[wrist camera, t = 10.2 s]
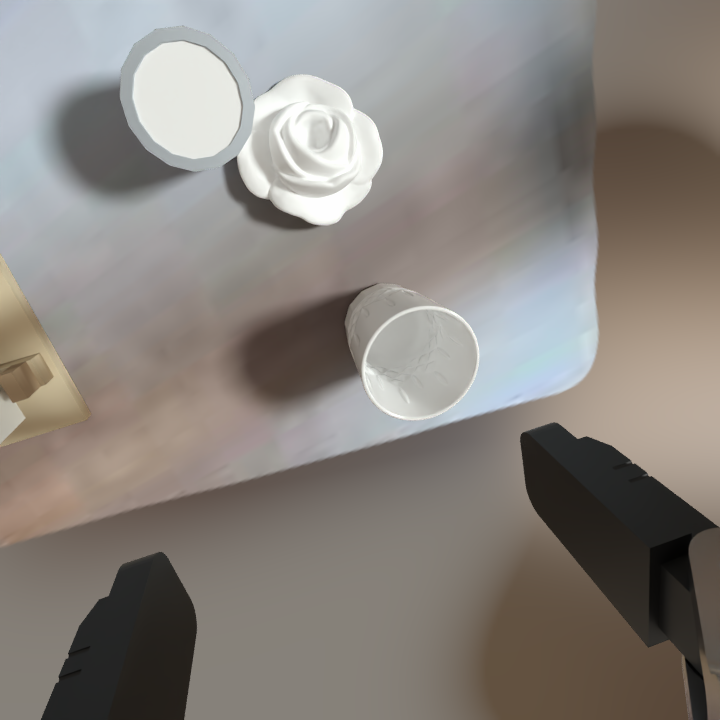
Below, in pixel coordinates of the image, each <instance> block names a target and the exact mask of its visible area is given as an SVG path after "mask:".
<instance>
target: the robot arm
mask: <svg viewBox="0 0 720 720" xmlns="http://www.w3.org/2000/svg"><path fill="white" fill-rule="evenodd" d="M520 442H521V450H522V459H523V466H524V475H525V484H526V489H527V493H528V496H529V499H530V501H531V503H532V505H533V507H534V509H535V510H536V512H537V514H538V515H539V516H540V517H541V518H542V520H543V521H544V522H545V523H546V525H547V526H548V527H549V528H550V529H551V530H552V532H553V533H554V534H555V535H556V537H557V538H558V539H559V540H560V541H561V543H562V544H563V545H564V546H565V547H566V549H567V550H568V551H569V552H570V554H571V555H572V556H573V557H574V558H575V560H576V561H577V562H578V563H579V565H580V566H581V567H582V568H583V569H584V570H585V572H586V573H587V574H588V575H589V576H590V577H591V579H592V580H593V581H594V583H595V584H596V585H597V586H598V587H599V589H600V590H601V591H602V592H603V594H604V595H605V596H606V597H607V598H608V600H609V601H610V602H611V603H612V604H613V605H614V607H615V608H616V609H617V610H618V612H619V613H620V614H621V615H622V616H623V618H624V619H625V620H626V621H627V622H628V624H629V625H630V626H631V627H632V629H633V630H634V631H635V632H636V633H637V634H638V636H639V637H640V638H641V639H642V641H643V642H644V643H645V644H646V645H647V647H651V646H654V645H656V644H659V643H661V642H664V641H666V640H670V641H671V642H672V643H673V644H674V645H675V646H676V647H677V648H678V650H679V651H680V652H681V653H682V669H683V676H684V684H685V692H686V700H687V708H688V716H689V720H720V527H718V526H717V525H715V524H714V523H713V522H711V521H710V520H709V519H707V518H706V517H705V516H704V515H702V514H701V513H700V512H698V511H697V510H696V509H694V508H693V507H692V506H690V505H689V504H688V503H686V502H685V501H684V500H682V499H681V498H680V497H678V496H677V495H676V494H674V493H673V492H672V491H670V490H669V489H668V488H667V487H665V486H664V485H663V484H661V483H660V482H659V481H657V480H656V479H654V478H653V477H652V476H651V477H649V476H648V474H647V472H645V471H644V470H643V469H641V468H640V467H639V466H637V465H636V464H632V462H631V460H630V459H628V458H627V457H626V456H624V455H623V454H622V453H620V452H619V451H618V450H616V449H615V448H614V447H612V446H610V445H608V444H605V443H603V442H600V441H597V440H595V439H592V438H589V437H583V438H580V439H577V438H575V437H574V436H573V435H572V434H571V433H569V432H568V431H567V430H566V429H564V428H563V427H562V426H561V425H559V424H558V423H550V424H547V425H544V426H541V427H538V428H535V429H532V430H529V431H526V432H523V433H522V434H521V437H520ZM196 633H197V621H196V614H195V609H194V606H193V603H192V601H191V599H190V597H189V595H188V594H187V592H186V590H185V588H184V586H183V584H182V583H181V581H180V579H179V577H178V576H177V574H176V572H175V570H174V568H173V566H172V565H171V563H170V561H169V559H168V558H167V556H166V555H165V554H164V553H162V552H158V553H155V554H152V555H149V556H146V557H143V558H140V559H137V560H134V561H131V562H128V563H125V564H123V565H122V566H121V567H120V568H119V570H118V573H117V575H116V578H115V581H114V583H113V586H112V589H111V592H110V594H109V596H108V597H105V598H102V599H99V601H98V602H97V603H96V605H95V606H94V607H93V609H92V610H91V611H90V613H89V614H88V615H87V617H86V618H85V619H84V621H83V622H82V623H81V625H80V626H79V628H78V631H77V633H76V636H75V638H74V641H73V643H72V645H71V648H70V650H69V653H68V654H69V658H68V659H66V660H65V662H64V665H63V667H62V670H61V672H60V674H59V682H58V683H56V684H55V687H54V689H53V692H52V694H51V696H50V699H49V701H48V704H47V706H46V709H45V711H44V714H43V716H42V718H41V720H184V716H185V709H186V702H187V695H188V688H189V681H190V675H191V667H192V661H193V654H194V647H195V639H196Z"/></svg>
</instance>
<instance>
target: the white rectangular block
mask: <svg viewBox="0 0 720 720" xmlns="http://www.w3.org/2000/svg"><path fill="white" fill-rule="evenodd" d="M24 419H25V416H24V415H23V413H22V411H21V410H20V408H19V407H18V405H17V404H16V402H15V403H12V401H11V400H10V398H9V397H8V395H7V393H6V392H5V390H4V389H3V387H2V386H1V384H0V444H1V443H2V442H3V441H4V440H5V439H6V438H7V437H8V436H9V435H10V434H11V433H12V432H13V431H14V430H15V429H16V427H17V426H18V425H19V424H20V423H21V422H22V421H23V420H24Z"/></svg>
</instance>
